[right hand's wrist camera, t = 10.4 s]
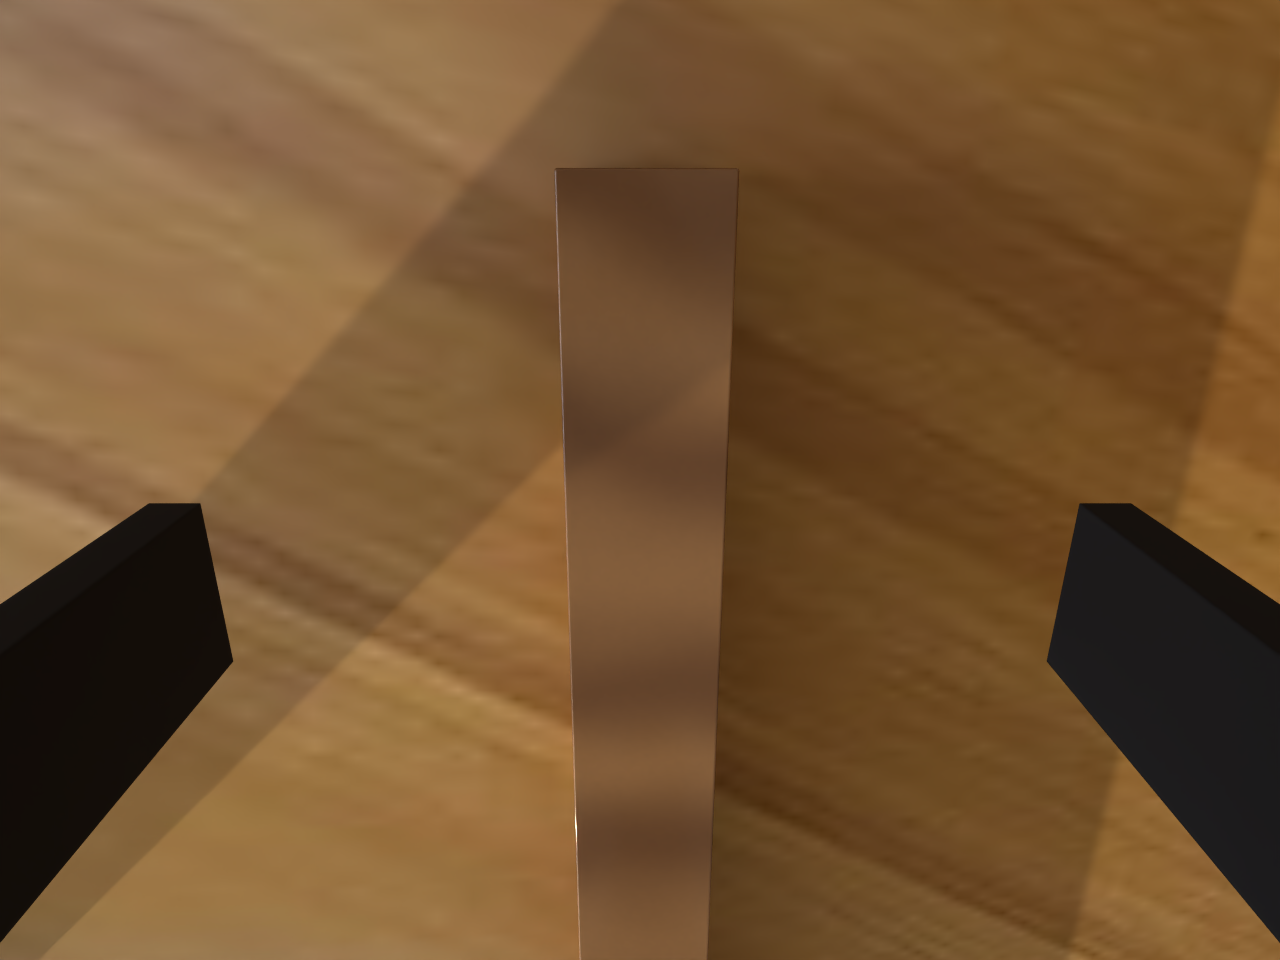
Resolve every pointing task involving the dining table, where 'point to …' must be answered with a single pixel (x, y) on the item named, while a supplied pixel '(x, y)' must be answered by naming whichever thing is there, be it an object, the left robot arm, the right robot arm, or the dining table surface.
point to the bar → (645, 540)
